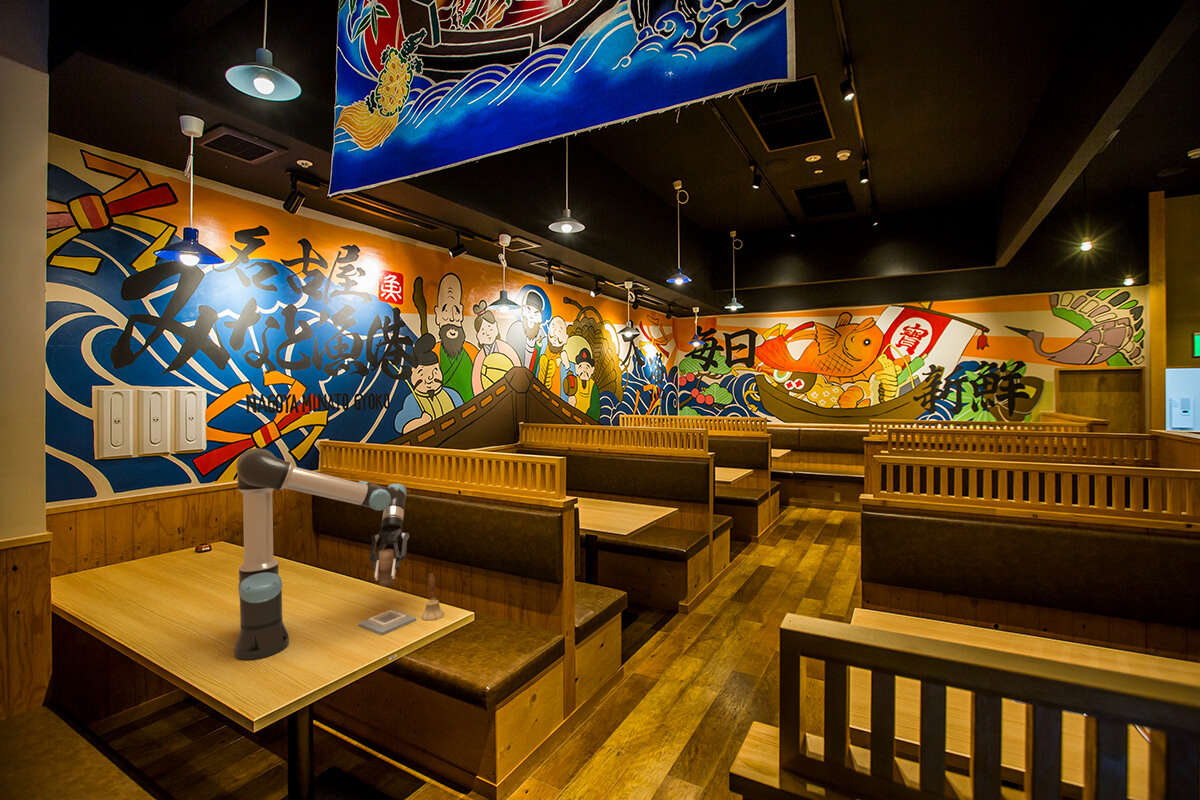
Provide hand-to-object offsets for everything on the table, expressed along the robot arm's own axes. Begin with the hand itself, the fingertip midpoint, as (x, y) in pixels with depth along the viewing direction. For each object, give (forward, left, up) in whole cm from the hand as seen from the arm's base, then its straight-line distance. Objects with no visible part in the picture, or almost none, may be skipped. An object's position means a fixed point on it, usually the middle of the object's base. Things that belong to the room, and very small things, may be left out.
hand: (384, 577), depth 188 cm
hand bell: (+16, -6, -18) cm, 25 cm away
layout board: (+3, +3, -18) cm, 18 cm away
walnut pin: (+3, +3, -3) cm, 5 cm away
